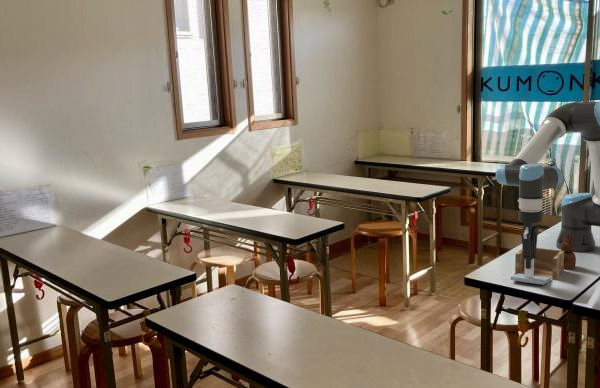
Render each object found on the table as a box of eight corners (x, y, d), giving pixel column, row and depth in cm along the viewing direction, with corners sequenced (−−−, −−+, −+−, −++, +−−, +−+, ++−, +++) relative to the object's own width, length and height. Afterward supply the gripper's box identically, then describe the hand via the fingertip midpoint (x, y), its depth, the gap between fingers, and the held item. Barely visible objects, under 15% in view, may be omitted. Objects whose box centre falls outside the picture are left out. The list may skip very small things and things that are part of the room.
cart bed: (524, 269, 225) (524, 246, 223) (563, 274, 217) (564, 250, 215) (514, 278, 215) (514, 254, 213) (555, 284, 207) (556, 259, 205)
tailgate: (519, 273, 213) (510, 276, 205) (550, 277, 207) (543, 281, 199) (518, 276, 213) (510, 280, 205) (550, 280, 207) (543, 284, 199)
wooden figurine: (577, 273, 217) (578, 234, 214) (560, 273, 218) (561, 234, 215) (572, 268, 223) (574, 229, 221) (556, 268, 224) (557, 229, 222)
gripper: (524, 205, 208) (523, 270, 211) (513, 212, 197) (512, 280, 201) (547, 207, 203) (545, 273, 207) (537, 214, 193) (535, 283, 197)
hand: (529, 276), depth 204 cm, fingers closed
